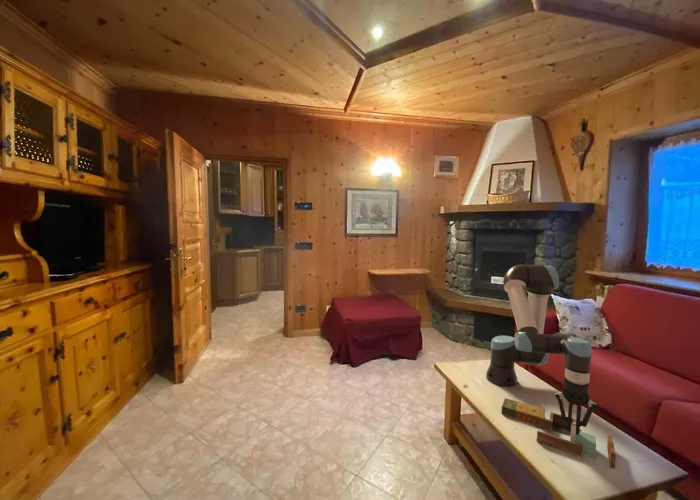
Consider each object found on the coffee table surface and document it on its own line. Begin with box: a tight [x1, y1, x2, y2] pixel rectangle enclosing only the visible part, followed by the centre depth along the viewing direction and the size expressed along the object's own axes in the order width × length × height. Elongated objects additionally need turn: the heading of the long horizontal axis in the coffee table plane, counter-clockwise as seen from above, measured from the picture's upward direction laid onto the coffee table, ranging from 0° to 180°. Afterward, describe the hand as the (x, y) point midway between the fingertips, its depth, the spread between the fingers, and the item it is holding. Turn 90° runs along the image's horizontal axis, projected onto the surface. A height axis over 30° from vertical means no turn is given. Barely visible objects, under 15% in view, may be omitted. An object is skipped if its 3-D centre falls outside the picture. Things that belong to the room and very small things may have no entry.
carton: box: [501, 397, 546, 426], centre depth 136 cm, size 8×16×4 cm, turn 56°
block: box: [575, 431, 597, 459], centre depth 115 cm, size 6×6×5 cm
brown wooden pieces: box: [536, 411, 617, 470], centre depth 120 cm, size 19×23×5 cm
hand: (572, 440), depth 118 cm, fingers closed
